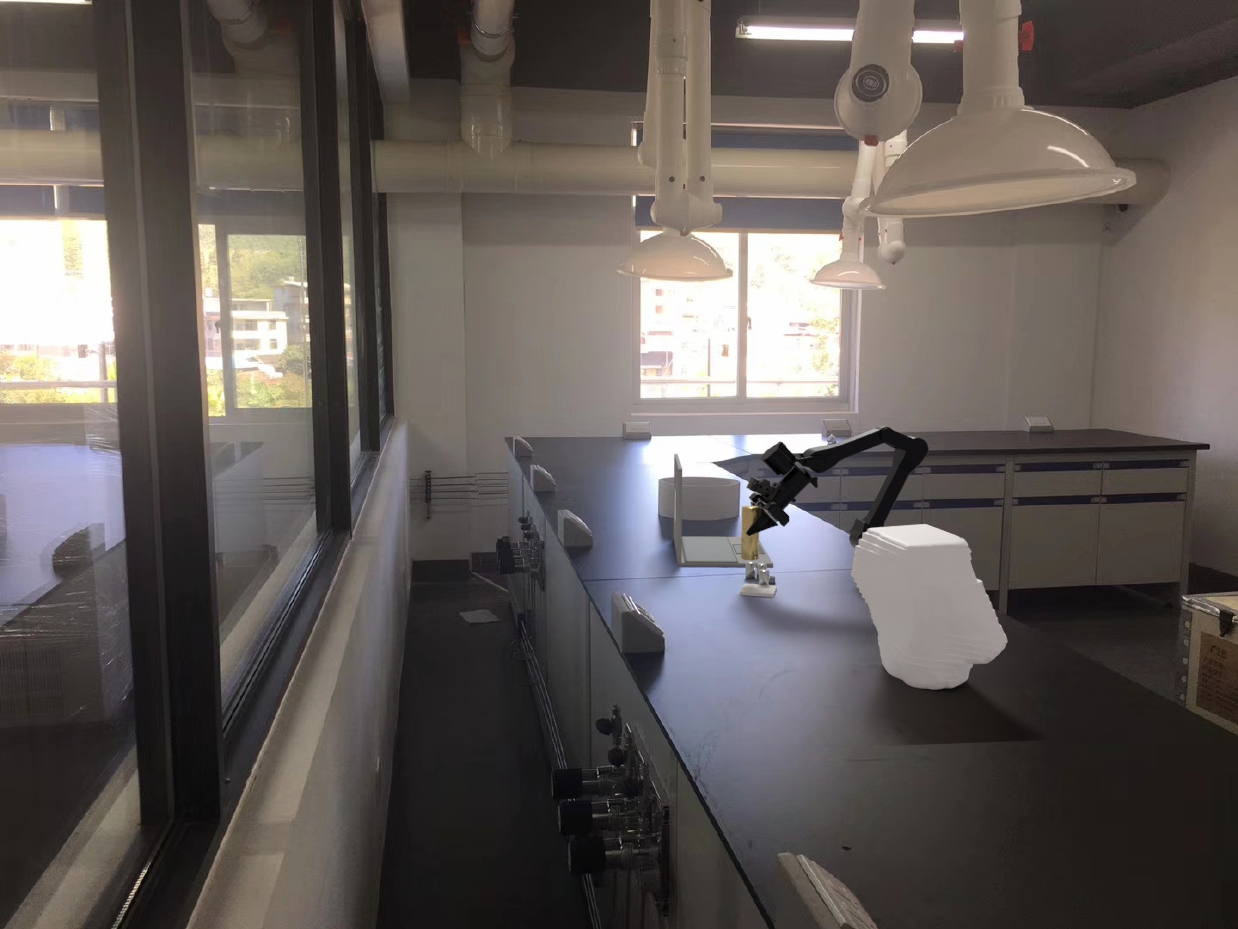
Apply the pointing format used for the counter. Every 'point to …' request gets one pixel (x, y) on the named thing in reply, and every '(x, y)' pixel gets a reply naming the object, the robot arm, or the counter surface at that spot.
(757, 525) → the robot arm
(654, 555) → the counter surface
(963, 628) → the paper stack
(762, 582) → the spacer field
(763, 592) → the tile
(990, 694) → the counter surface
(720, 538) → the laptop
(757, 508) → the brass tube
